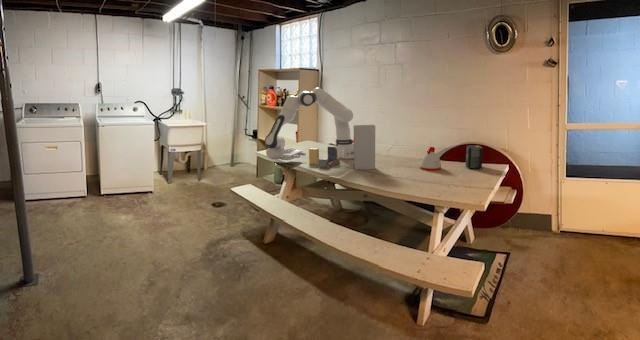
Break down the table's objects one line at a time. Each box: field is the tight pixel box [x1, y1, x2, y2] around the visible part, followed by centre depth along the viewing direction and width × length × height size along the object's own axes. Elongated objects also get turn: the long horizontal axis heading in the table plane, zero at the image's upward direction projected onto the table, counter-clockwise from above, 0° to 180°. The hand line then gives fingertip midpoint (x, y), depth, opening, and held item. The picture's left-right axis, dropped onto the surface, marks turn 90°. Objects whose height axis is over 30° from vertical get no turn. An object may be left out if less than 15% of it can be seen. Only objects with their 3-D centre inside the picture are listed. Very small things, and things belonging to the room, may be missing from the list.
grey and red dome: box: [419, 146, 442, 172], centre depth 284 cm, size 14×14×15 cm
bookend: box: [318, 157, 328, 169], centre depth 292 cm, size 3×6×6 cm, turn 65°
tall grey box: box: [353, 124, 376, 171], centre depth 287 cm, size 14×6×30 cm, turn 92°
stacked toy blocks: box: [314, 145, 341, 169], centre depth 299 cm, size 21×10×13 cm, turn 155°
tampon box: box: [465, 144, 484, 170], centre depth 284 cm, size 11×9×15 cm
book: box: [308, 147, 320, 165], centre depth 305 cm, size 4×6×12 cm, turn 65°
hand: (302, 155), depth 309 cm, fingers open, 8 cm apart
